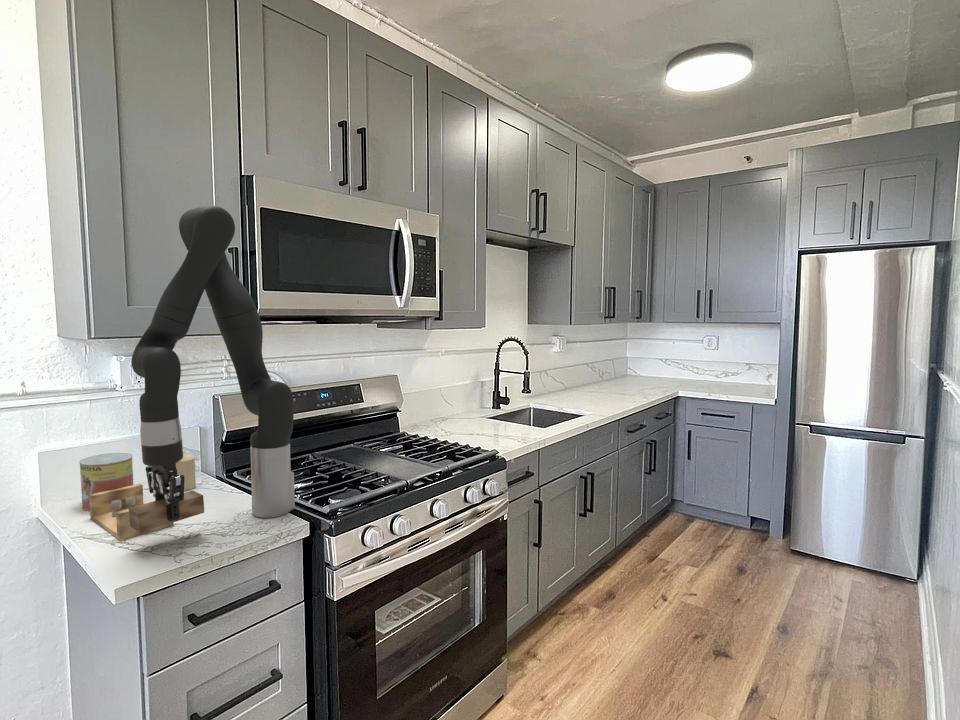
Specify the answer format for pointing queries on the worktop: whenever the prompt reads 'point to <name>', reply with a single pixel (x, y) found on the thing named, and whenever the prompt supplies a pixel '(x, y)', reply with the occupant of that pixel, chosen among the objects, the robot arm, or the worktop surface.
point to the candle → (187, 470)
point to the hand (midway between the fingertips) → (167, 516)
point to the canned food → (104, 474)
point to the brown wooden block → (164, 512)
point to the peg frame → (117, 510)
